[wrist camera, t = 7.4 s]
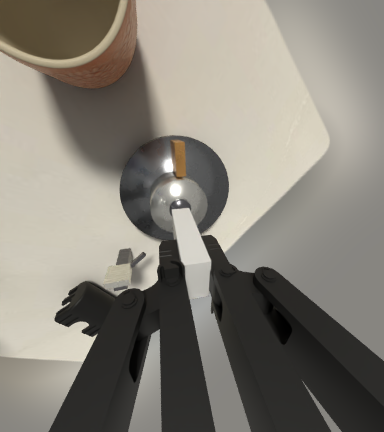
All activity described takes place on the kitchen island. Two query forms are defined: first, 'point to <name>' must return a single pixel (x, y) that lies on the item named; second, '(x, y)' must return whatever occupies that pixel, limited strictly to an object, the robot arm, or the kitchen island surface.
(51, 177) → the kitchen island surface
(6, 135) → the kitchen island surface
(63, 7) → the planter
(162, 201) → the cover
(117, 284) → the gray post with pin
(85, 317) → the end cap
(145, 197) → the turntable
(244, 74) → the kitchen island surface
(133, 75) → the kitchen island surface
